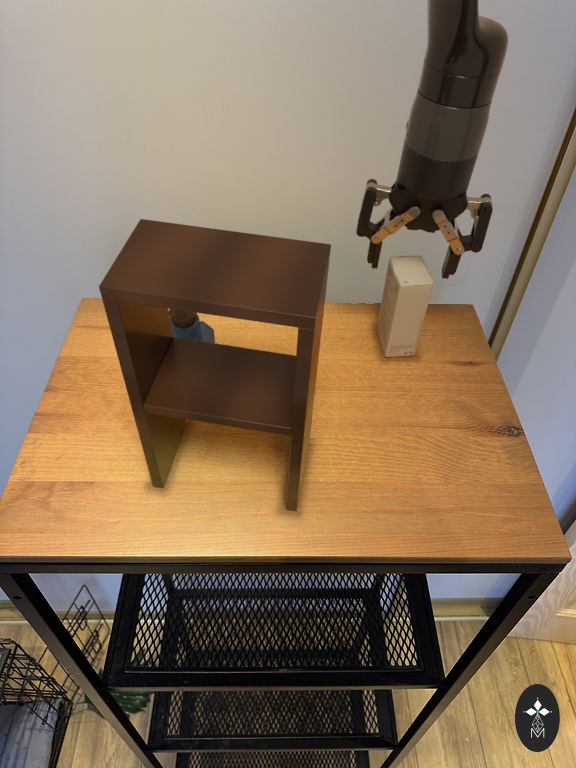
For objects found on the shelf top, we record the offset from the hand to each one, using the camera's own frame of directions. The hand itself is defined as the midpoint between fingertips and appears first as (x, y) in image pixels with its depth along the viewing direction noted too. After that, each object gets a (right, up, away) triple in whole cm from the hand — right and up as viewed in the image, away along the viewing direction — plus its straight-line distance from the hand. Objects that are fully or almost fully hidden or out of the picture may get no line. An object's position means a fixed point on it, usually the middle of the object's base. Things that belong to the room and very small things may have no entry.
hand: (409, 269), depth 70 cm
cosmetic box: (0, -8, +10) cm, 13 cm away
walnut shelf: (-21, -23, -5) cm, 32 cm away
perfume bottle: (-27, -14, +3) cm, 30 cm away
